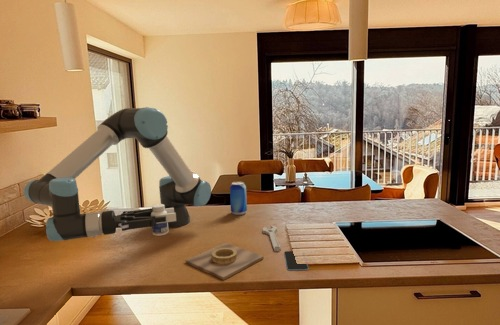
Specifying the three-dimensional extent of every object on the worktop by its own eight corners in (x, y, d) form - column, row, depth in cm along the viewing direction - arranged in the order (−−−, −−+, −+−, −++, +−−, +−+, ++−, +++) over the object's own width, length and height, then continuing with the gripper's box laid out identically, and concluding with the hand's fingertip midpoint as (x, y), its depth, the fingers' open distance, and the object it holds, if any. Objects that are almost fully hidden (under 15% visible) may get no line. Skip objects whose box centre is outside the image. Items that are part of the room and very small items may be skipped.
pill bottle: (154, 230, 120) (151, 203, 118) (169, 229, 120) (167, 202, 119) (151, 236, 115) (148, 208, 113) (167, 235, 115) (165, 207, 113)
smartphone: (303, 250, 130) (309, 269, 116) (303, 252, 131) (309, 271, 116) (283, 250, 131) (287, 269, 116) (283, 252, 131) (287, 271, 116)
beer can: (249, 210, 183) (248, 181, 180) (243, 215, 175) (242, 185, 172) (234, 209, 185) (233, 180, 183) (228, 214, 178) (227, 184, 175)
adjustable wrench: (281, 252, 131) (281, 248, 131) (264, 253, 131) (264, 248, 131) (276, 229, 156) (276, 225, 156) (262, 229, 156) (262, 225, 156)
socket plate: (185, 262, 124) (185, 254, 124) (225, 245, 139) (225, 238, 138) (223, 280, 111) (223, 271, 110) (263, 258, 125) (263, 250, 125)
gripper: (105, 225, 120) (173, 216, 127) (100, 244, 103) (178, 233, 110) (103, 204, 119) (171, 197, 126) (97, 221, 102) (177, 211, 109)
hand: (174, 214), depth 118 cm, fingers closed on pill bottle, 5 cm apart
